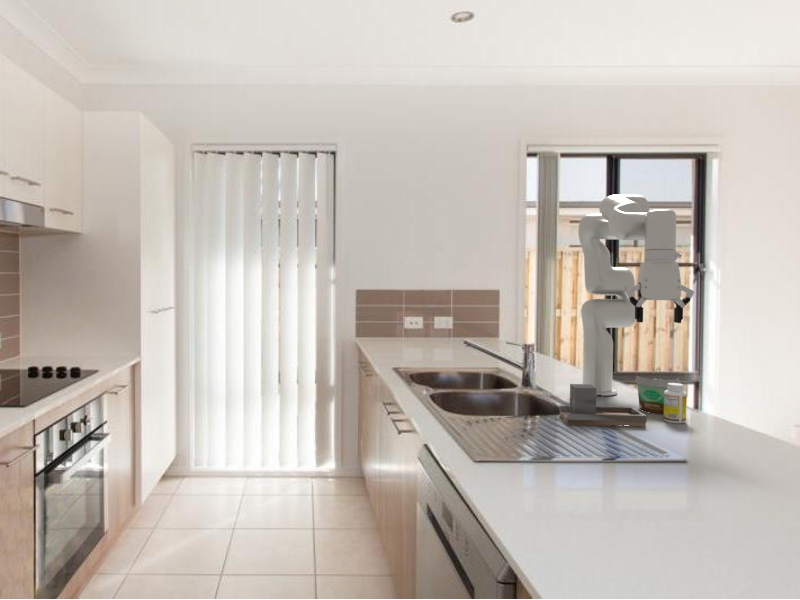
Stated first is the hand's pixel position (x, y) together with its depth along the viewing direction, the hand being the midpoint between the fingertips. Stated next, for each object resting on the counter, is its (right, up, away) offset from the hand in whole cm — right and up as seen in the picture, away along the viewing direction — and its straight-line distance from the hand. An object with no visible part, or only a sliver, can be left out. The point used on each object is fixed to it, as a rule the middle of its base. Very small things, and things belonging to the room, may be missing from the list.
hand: (658, 322), depth 158 cm
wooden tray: (-14, -27, +3) cm, 30 cm away
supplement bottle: (+6, -27, +4) cm, 28 cm away
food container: (+6, -27, +15) cm, 31 cm away
